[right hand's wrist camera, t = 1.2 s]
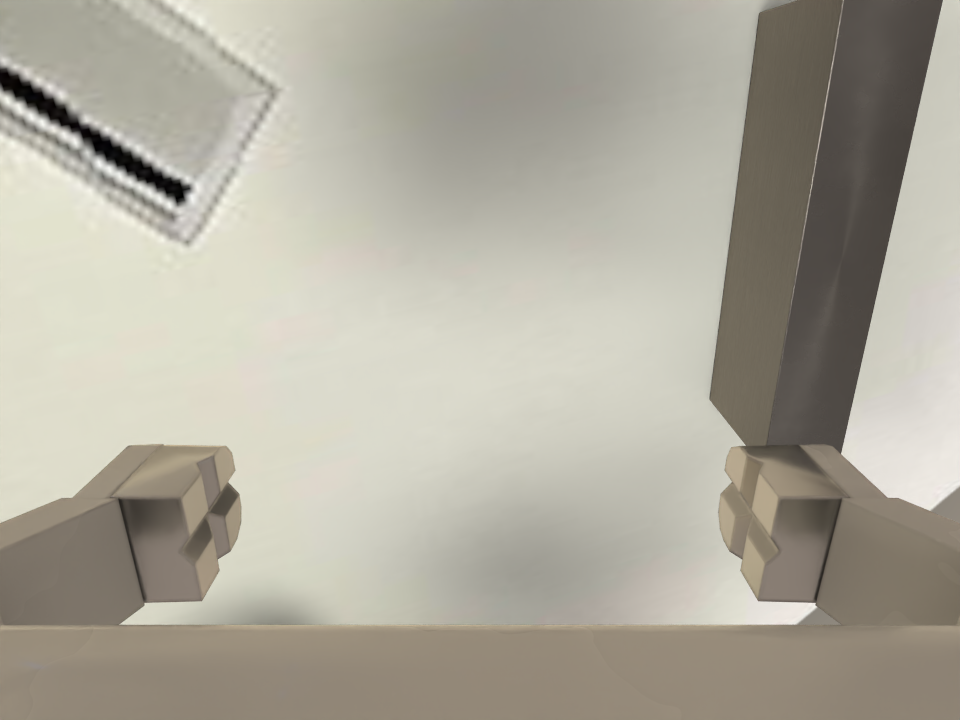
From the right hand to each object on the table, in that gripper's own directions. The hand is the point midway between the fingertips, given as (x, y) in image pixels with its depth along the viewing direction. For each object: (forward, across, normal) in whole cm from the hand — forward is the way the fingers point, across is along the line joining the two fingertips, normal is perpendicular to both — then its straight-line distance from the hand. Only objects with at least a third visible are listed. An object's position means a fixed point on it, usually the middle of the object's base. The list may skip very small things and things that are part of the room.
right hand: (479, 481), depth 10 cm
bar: (+32, -18, +1) cm, 37 cm away
